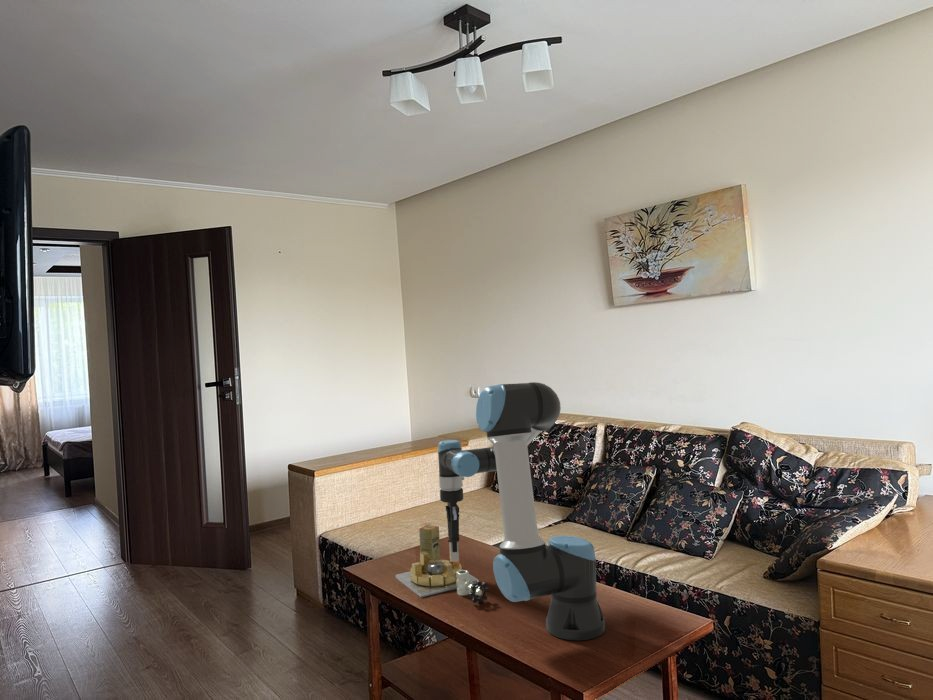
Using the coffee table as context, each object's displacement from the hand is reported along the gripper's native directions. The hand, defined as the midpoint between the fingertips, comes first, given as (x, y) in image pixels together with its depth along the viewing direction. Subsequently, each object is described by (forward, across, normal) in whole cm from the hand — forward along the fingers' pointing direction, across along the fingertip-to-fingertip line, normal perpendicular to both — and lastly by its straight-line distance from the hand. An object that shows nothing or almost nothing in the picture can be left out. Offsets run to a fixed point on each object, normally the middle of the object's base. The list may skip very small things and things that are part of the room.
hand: (454, 560), depth 208 cm
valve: (+6, -18, -2) cm, 19 cm away
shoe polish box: (+5, +16, +6) cm, 18 cm away
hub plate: (+5, -2, +6) cm, 8 cm away
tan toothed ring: (+4, -2, +6) cm, 8 cm away
